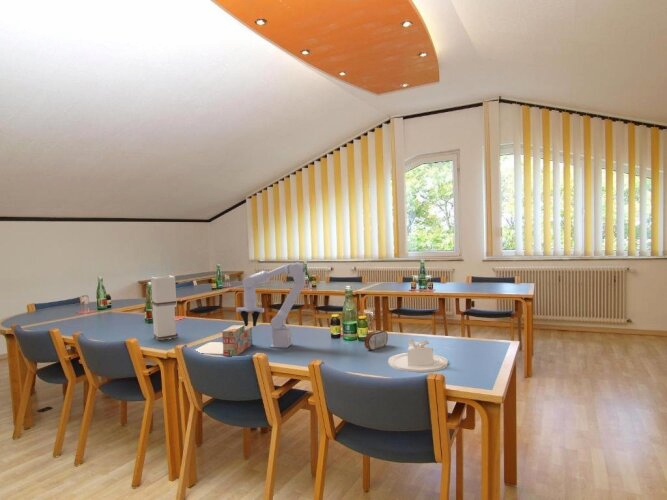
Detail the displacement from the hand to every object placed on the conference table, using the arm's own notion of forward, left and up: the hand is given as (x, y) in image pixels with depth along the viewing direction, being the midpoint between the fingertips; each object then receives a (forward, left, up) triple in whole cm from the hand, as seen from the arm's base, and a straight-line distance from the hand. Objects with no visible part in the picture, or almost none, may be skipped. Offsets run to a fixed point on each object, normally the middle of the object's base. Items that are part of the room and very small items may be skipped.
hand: (250, 325), depth 219 cm
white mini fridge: (+58, -13, -11) cm, 61 cm away
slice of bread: (-65, -2, -11) cm, 65 cm away
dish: (-85, +19, -11) cm, 87 cm away
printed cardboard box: (+3, +8, -11) cm, 14 cm away
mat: (+17, +6, -10) cm, 21 cm away
